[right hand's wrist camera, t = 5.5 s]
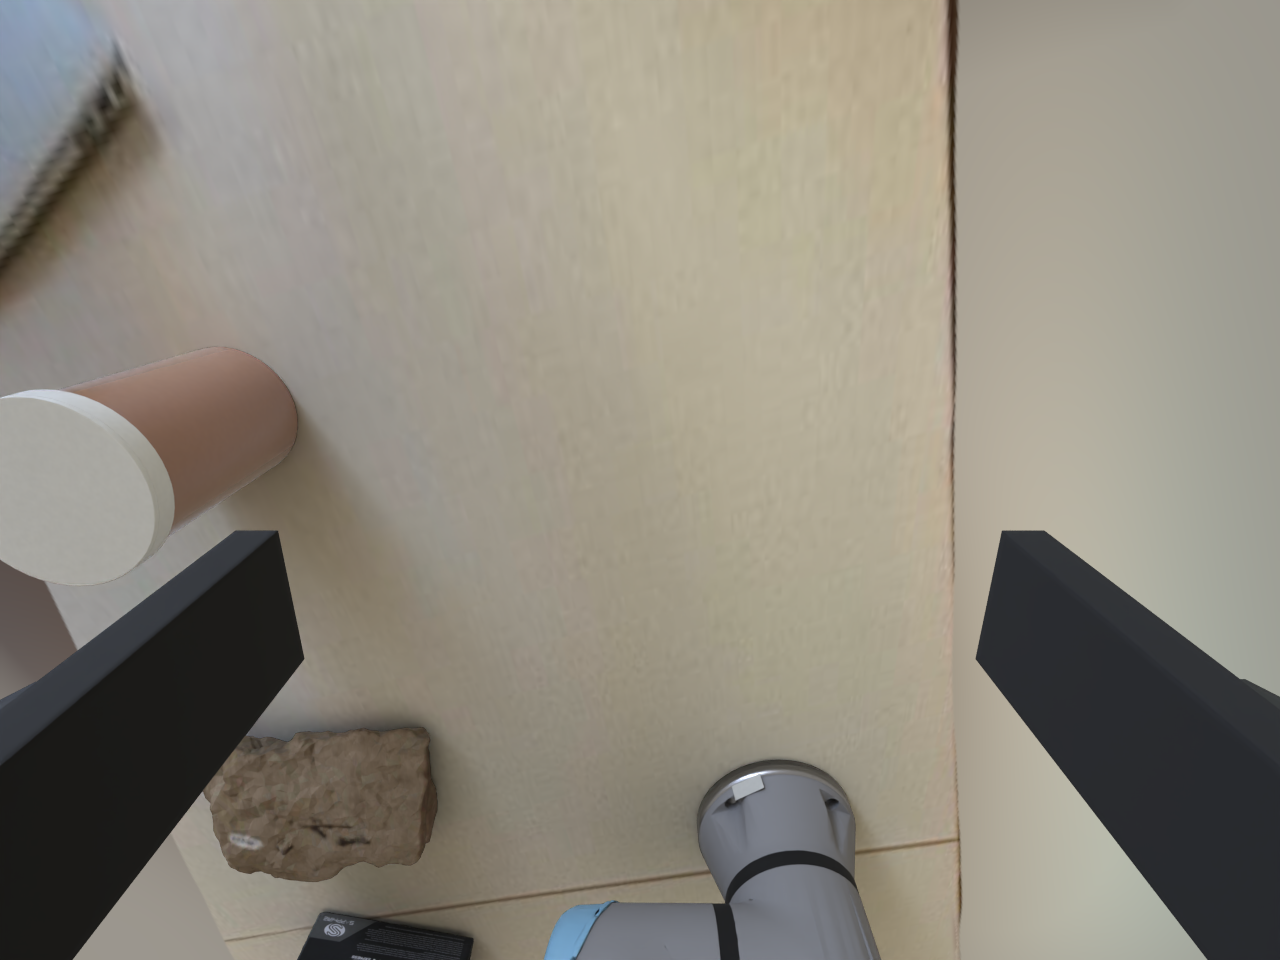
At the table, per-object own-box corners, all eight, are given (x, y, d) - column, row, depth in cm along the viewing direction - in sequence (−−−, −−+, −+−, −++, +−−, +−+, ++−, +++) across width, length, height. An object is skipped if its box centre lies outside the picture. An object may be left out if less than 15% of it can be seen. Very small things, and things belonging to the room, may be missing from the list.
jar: (308, 473, 55) (173, 576, 39) (181, 474, 55) (-6, 576, 39) (284, 346, 51) (124, 401, 36) (149, 347, 52) (-73, 402, 36)
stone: (213, 861, 65) (183, 908, 60) (203, 715, 64) (171, 749, 58) (440, 840, 69) (433, 882, 63) (437, 701, 67) (429, 732, 61)
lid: (195, 571, 40) (176, 585, 39) (9, 572, 40) (-17, 586, 39) (146, 388, 37) (124, 396, 35) (-59, 389, 37) (-92, 397, 35)
